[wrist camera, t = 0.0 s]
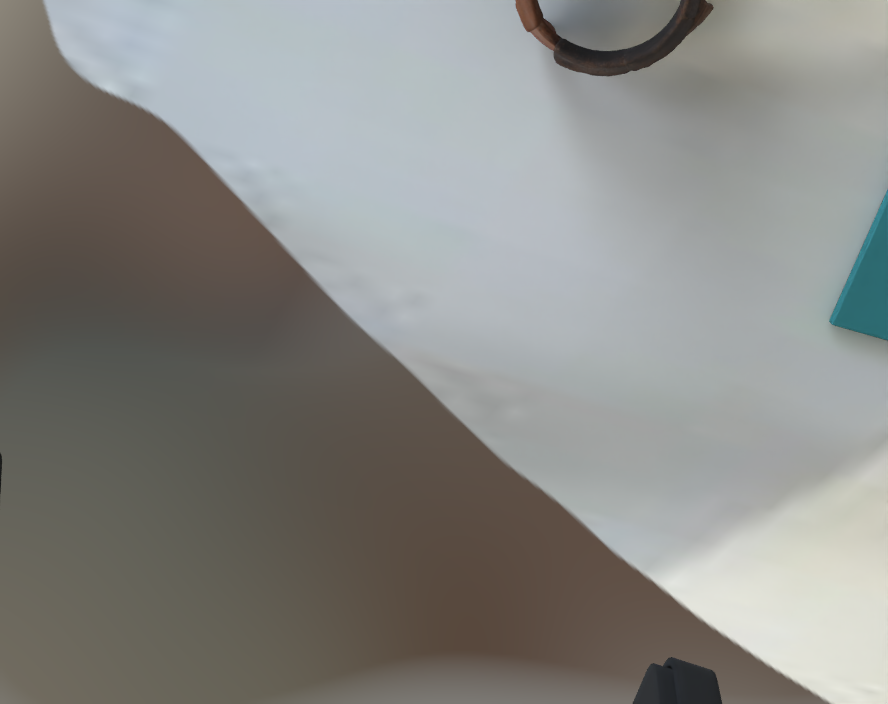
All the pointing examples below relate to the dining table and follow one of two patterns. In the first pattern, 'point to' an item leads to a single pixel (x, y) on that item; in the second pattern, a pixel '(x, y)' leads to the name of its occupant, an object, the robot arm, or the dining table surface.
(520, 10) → the pottery mug
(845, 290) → the mat
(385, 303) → the dining table surface
